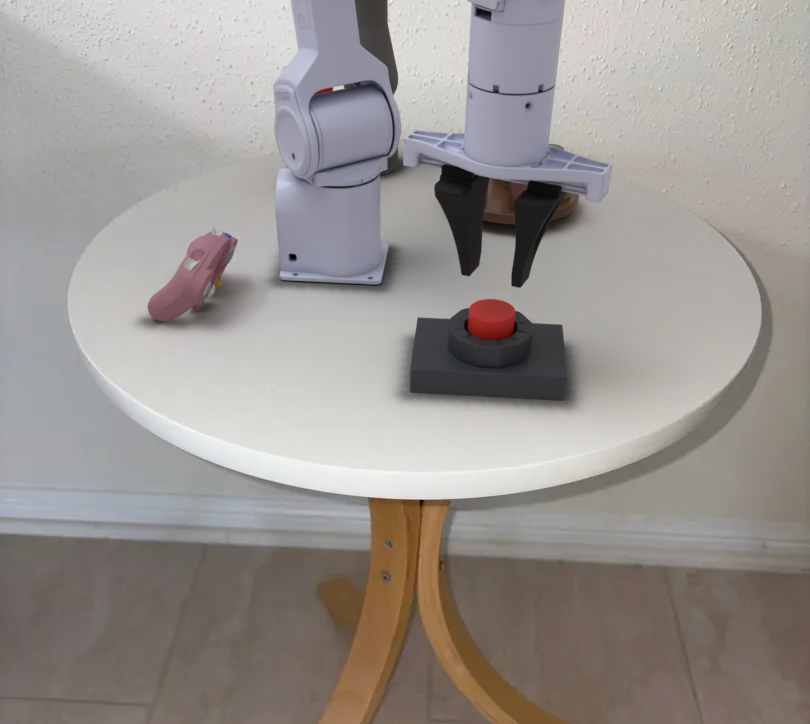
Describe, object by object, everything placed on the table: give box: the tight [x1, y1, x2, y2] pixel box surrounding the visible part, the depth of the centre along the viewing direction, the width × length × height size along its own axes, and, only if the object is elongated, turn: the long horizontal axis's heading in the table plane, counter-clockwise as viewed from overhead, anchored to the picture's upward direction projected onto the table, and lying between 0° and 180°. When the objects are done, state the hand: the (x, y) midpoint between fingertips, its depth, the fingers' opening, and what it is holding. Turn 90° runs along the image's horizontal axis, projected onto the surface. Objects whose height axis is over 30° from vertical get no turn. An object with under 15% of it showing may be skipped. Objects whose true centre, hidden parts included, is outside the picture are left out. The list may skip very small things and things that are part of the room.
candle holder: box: [342, 0, 399, 176], centre depth 97 cm, size 6×6×25 cm
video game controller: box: [147, 227, 239, 322], centre depth 80 cm, size 10×5×7 cm, turn 168°
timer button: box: [468, 298, 516, 340], centre depth 71 cm, size 4×4×2 cm
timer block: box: [409, 307, 568, 402], centre depth 72 cm, size 12×8×4 cm, turn 85°
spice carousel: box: [483, 143, 580, 225], centre depth 93 cm, size 14×14×9 cm
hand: (495, 275), depth 68 cm, fingers open, 3 cm apart
